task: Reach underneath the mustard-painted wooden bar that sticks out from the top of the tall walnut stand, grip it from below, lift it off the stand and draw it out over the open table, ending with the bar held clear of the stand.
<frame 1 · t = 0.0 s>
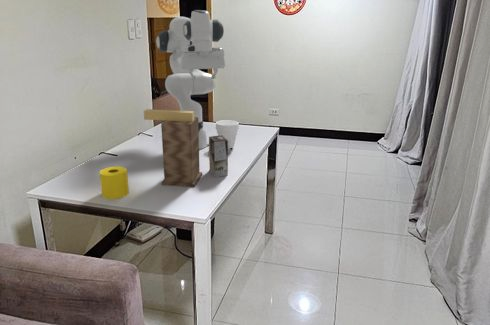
hand: (203, 79, 184), 39 cm above the table, tool pointing down, fingers open, 8 cm apart
cup: (227, 147, 217), on the table
stand: (182, 179, 172), on the table
coffee box: (218, 173, 180), on the table
yellow toilet paper roll: (115, 194, 157), on the table
bar: (169, 119, 164), point 26 cm above the table, touching stand
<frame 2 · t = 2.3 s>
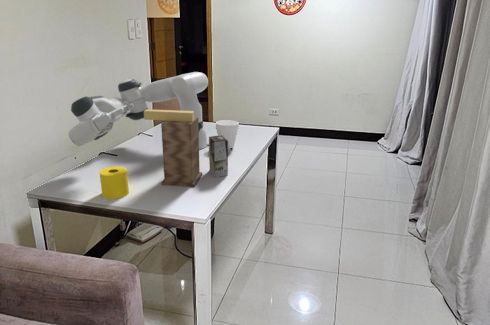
hand: (128, 107, 164), 30 cm above the table, tool pointing upward, fingers open, 8 cm apart
nothing on the table moved.
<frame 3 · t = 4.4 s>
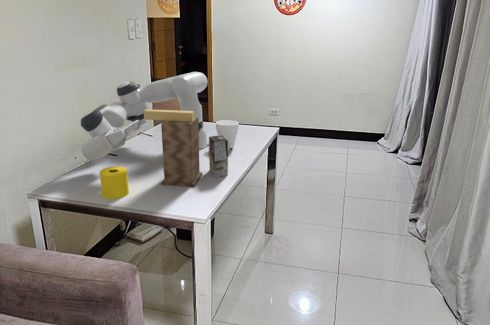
hand: (141, 122, 165), 24 cm above the table, tool pointing upward, fingers open, 8 cm apart
nothing on the table moved.
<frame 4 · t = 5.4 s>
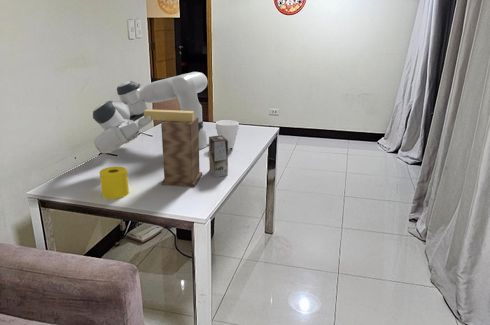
hand: (154, 115, 164), 28 cm above the table, tool pointing upward, fingers open, 8 cm apart
nothing on the table moved.
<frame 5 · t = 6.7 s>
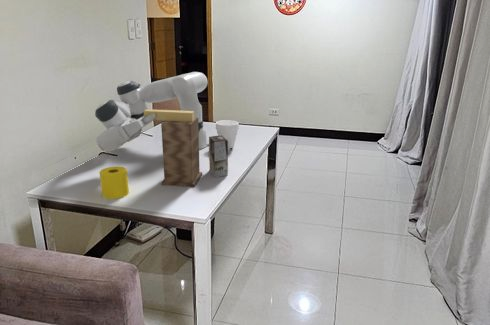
hand: (157, 113, 164), 28 cm above the table, tool pointing upward, fingers closed on bar, 3 cm apart
bar: (169, 119, 164), point 26 cm above the table, touching gripper, stand
everything else where it was.
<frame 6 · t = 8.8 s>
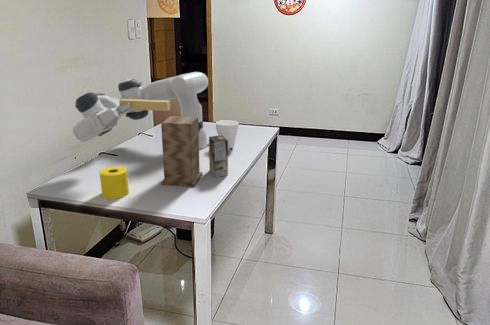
hand: (133, 102, 163), 32 cm above the table, tool pointing upward, fingers closed on bar, 3 cm apart
bar: (145, 109, 164), point 30 cm above the table, touching gripper
everything else where it was.
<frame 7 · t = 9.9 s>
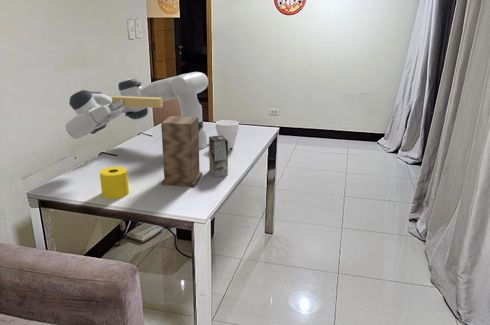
hand: (125, 99, 163), 33 cm above the table, tool pointing upward, fingers closed on bar, 3 cm apart
bar: (137, 106, 164), point 31 cm above the table, touching gripper
everything else where it was.
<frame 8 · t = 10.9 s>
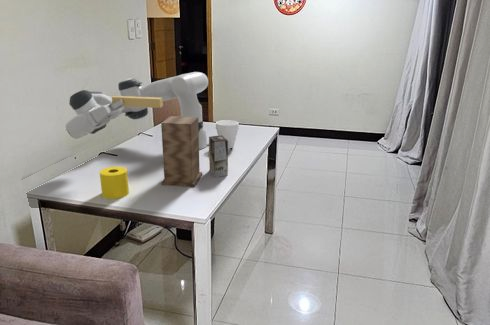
hand: (125, 99, 163), 33 cm above the table, tool pointing upward, fingers closed on bar, 3 cm apart
bar: (137, 106, 164), point 31 cm above the table, touching gripper
everything else where it was.
at the end: the gripper is holding bar; bar point 31.1 cm above the table; bar touching gripper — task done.
